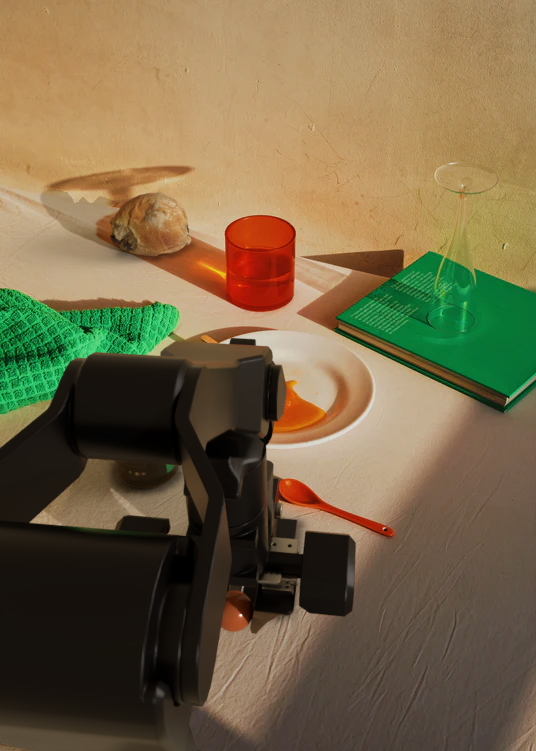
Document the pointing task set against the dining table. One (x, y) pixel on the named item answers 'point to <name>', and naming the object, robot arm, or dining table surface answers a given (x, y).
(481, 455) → the dining table surface
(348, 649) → the dining table surface
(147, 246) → the bread roll
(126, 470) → the supplement bottle
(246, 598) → the lever
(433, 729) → the dining table surface
